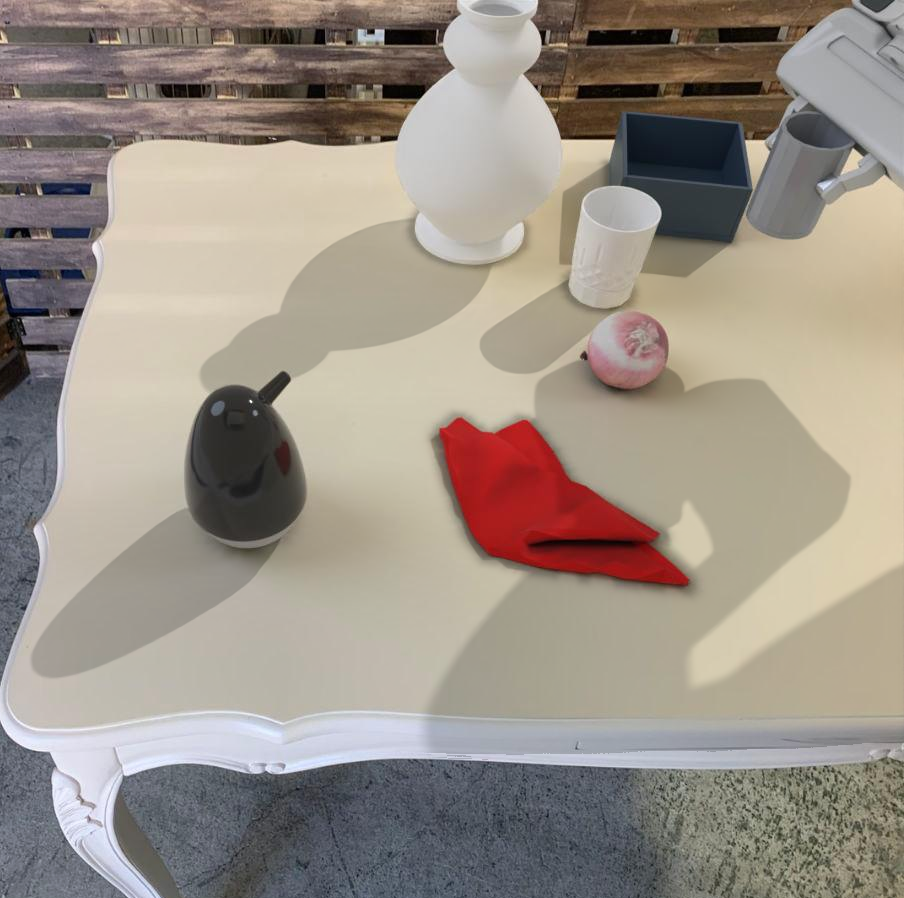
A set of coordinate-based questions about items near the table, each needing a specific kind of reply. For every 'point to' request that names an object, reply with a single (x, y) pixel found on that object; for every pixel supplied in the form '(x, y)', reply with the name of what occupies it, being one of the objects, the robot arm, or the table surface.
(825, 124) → the steel cup
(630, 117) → the basket
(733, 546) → the table surface
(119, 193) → the table surface
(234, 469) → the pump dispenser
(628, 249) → the white cup
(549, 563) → the cloth
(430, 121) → the decorative vase
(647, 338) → the onion
